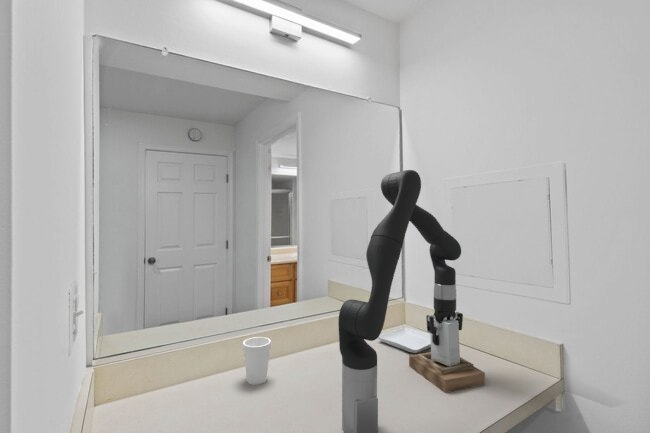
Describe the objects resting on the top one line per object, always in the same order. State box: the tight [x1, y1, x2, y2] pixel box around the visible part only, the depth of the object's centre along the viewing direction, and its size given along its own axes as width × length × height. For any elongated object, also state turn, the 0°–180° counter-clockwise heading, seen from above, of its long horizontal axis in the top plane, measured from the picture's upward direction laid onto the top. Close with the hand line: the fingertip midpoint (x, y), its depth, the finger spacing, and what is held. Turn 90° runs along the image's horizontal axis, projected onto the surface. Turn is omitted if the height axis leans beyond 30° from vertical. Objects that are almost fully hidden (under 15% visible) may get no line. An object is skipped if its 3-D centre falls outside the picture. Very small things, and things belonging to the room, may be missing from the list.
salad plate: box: [377, 326, 431, 354], centre depth 148 cm, size 21×21×3 cm
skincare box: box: [429, 319, 461, 367], centre depth 119 cm, size 8×6×15 cm
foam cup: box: [242, 336, 272, 385], centre depth 115 cm, size 10×9×13 cm
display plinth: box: [408, 351, 486, 393], centre depth 119 cm, size 20×16×6 cm
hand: (444, 343), depth 118 cm, fingers closed on skincare box, 6 cm apart
